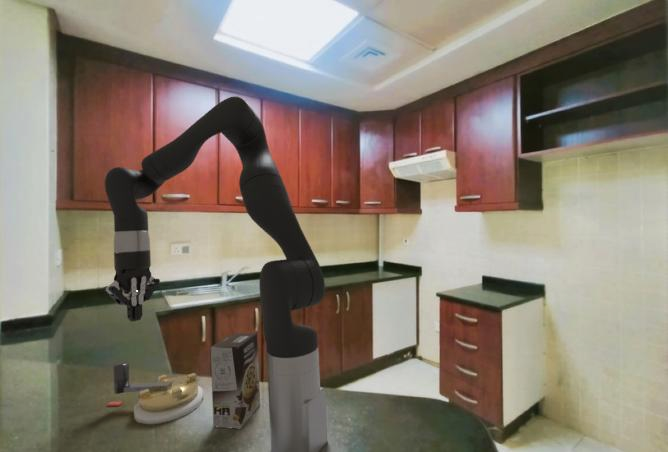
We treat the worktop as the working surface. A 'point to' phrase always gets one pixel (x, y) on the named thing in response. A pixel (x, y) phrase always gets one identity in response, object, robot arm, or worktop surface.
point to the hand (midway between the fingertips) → (135, 320)
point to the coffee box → (235, 380)
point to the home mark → (114, 403)
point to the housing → (167, 411)
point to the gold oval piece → (156, 389)
